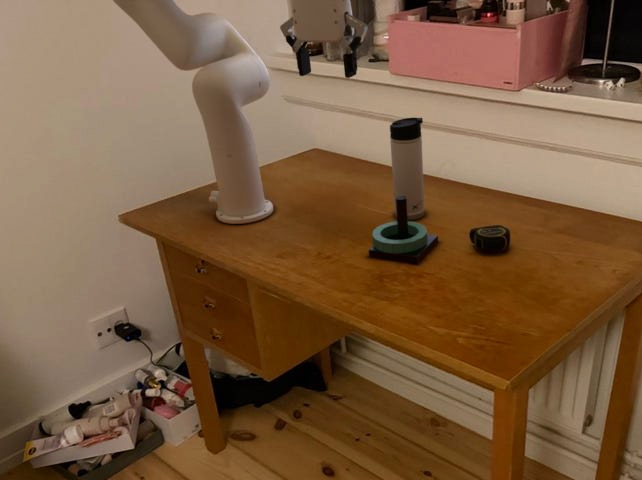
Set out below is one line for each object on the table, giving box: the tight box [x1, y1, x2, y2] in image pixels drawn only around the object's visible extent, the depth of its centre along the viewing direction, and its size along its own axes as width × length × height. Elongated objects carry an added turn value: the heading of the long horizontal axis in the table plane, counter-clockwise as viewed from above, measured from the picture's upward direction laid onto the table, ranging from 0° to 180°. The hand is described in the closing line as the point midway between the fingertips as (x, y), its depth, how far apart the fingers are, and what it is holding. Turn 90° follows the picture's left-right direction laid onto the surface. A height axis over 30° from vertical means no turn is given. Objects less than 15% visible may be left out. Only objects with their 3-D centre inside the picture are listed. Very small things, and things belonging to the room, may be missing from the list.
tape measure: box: [468, 224, 511, 253], centre depth 132 cm, size 7×7×4 cm
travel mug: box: [389, 117, 425, 221], centre depth 144 cm, size 6×7×20 cm
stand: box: [368, 196, 439, 265], centre depth 132 cm, size 10×10×10 cm
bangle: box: [371, 220, 428, 253], centre depth 134 cm, size 10×10×2 cm
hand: (327, 75), depth 128 cm, fingers open, 9 cm apart
